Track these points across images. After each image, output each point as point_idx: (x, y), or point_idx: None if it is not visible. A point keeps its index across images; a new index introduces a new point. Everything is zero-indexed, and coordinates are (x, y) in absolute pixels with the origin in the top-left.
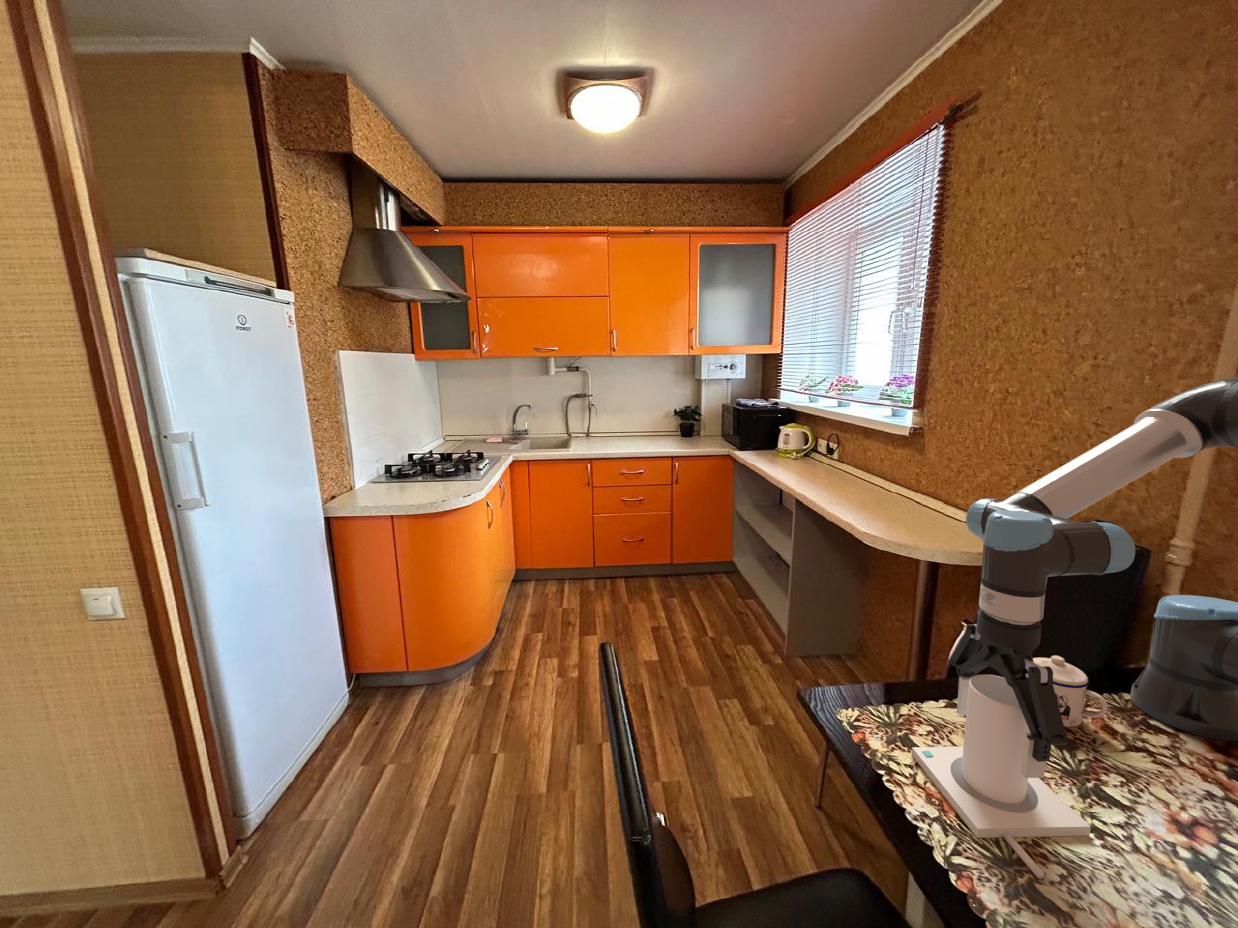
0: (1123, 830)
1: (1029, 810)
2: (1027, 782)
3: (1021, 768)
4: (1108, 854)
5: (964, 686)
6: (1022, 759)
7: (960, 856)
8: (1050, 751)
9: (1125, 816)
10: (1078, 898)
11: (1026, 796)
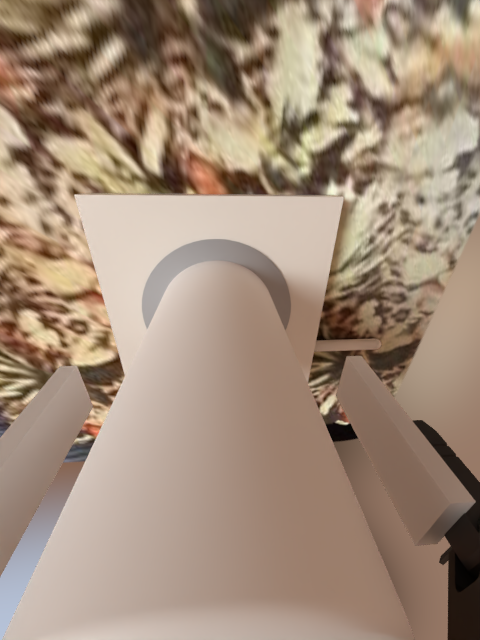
0: (341, 85)
1: (289, 293)
2: (265, 292)
3: (343, 408)
4: (374, 196)
5: (20, 523)
6: (355, 432)
7: (322, 404)
8: (461, 461)
9: (308, 15)
10: (407, 314)
11: (257, 274)
